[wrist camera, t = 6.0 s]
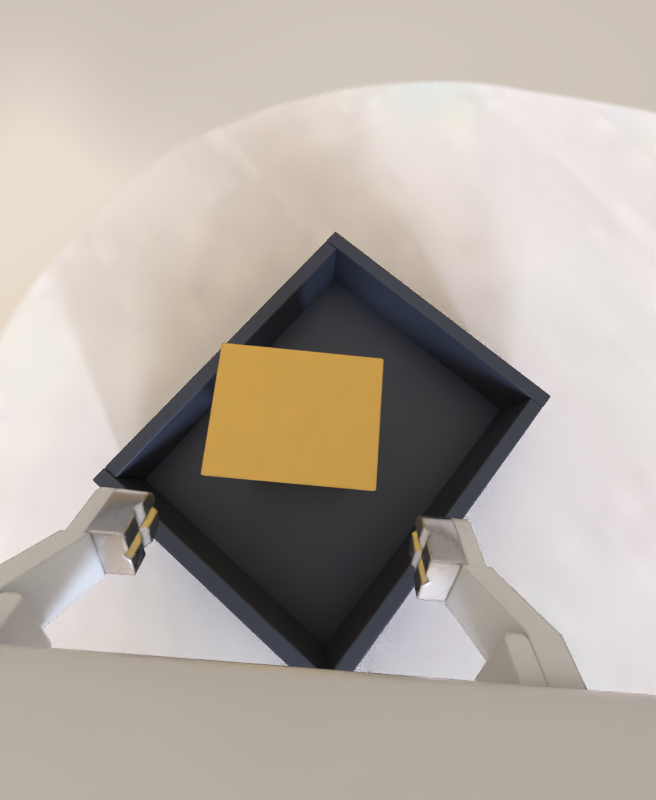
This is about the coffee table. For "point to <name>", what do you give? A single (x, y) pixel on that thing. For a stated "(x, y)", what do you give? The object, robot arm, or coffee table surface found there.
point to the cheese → (295, 417)
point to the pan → (328, 506)
